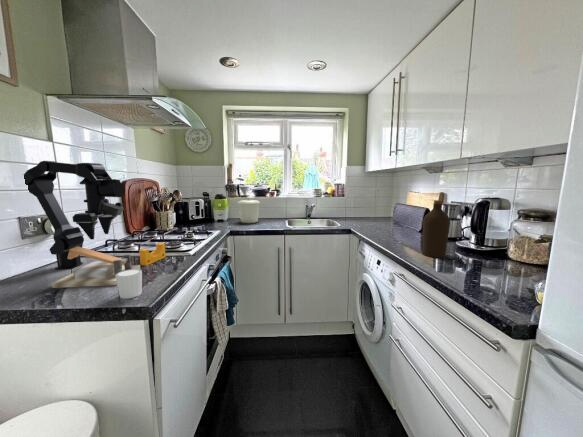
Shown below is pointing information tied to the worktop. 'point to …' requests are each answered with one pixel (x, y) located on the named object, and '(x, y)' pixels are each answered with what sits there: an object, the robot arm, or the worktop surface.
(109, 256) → the tan wooden bar
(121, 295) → the white cylinder
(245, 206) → the canister
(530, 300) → the worktop surface
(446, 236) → the olive oil
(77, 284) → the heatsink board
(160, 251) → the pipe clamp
